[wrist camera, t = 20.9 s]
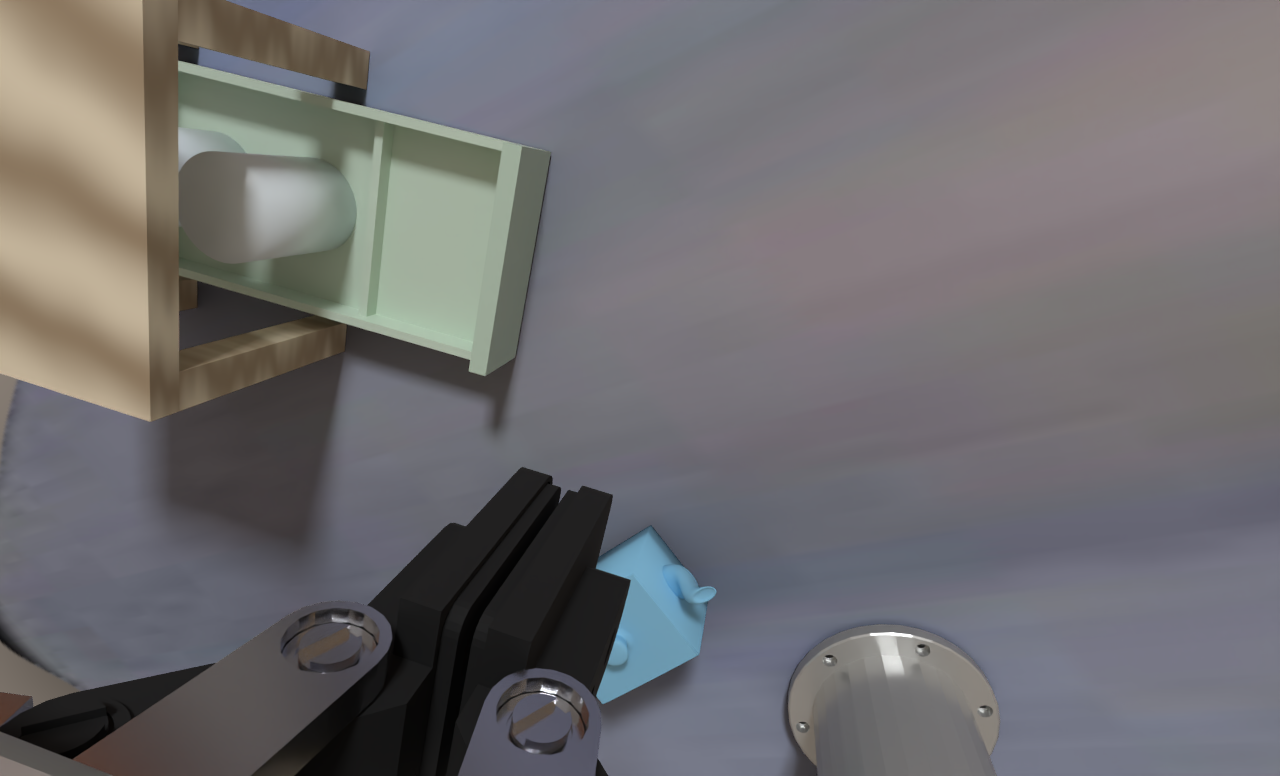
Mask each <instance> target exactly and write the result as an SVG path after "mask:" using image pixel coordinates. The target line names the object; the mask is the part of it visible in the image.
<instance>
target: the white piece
mask: <svg viewBox="0 0 1280 776" xmlns="http://www.w3.org/2000/svg"><path fill="white" fill-rule="evenodd" d="M178 180H179V221H180V223H181V225H182V228H183V229H184V231H185V233H186V235H187V236H188V237H189V239H190V240H191V241H192V243H193V244H194V245H195V246H196V247H197V248H198V249H199V250H200V251H202V252H203V253H204V254H206V255H207V256H209V257H210V258H212V259H214V260H217V261H219V262H223V263H229V264H237V263H245V262H252V261H259V260H266V259H273V258H280V257H287V256H294V255H301V254H308V253H315V252H322V251H329V250H333V249H336V248H338V247H339V246H341V245H342V244H343V243H345V242H346V241H347V239H348V238H349V237H350V235H351V233H352V231H353V229H354V226H355V222H356V214H357V212H356V202H355V198H354V194H353V191H352V189H351V187H350V185H349V183H348V181H347V180H346V178H345V177H344V176H343V175H342V173H341V172H340V171H339V170H338V169H337V168H335V167H334V166H333V165H331V164H330V163H328V162H326V161H324V160H321V159H318V158H312V157H298V156H282V155H267V154H251V153H236V152H220V151H206V152H201V153H199V154H196V155H194V156H193V157H191V158H190V159H189V160H188V161H187V162H185V164H184V165H183V166H182V168H181V170H180V172H179V174H178Z"/></svg>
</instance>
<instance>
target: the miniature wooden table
mask: <svg viewBox="0 0 1280 776" xmlns="http://www.w3.org/2000/svg"><path fill="white" fill-rule="evenodd" d="M178 44H181V45H185V46H189V47H193V48H197V49H199V47H202V48H206V49H209V50H213V51H217V52H221V53H225V54H229V55H233V56H237V57H240V58H244V59H248V60H252V61H256V62H260V63H264V64H267V65H271V66H275V67H279V68H283V69H287V70H291V71H295V72H298V73H302V74H306V75H310V76H314V77H318V78H322V79H325V80H329V81H333V82H337V83H341V84H345V85H350V86H354V87H358V88H362V89H366V90H367V78H368V66H369V54H370V52H369V51H366V50H363V49H361V48H358V47H355V46H352V45H349V44H347V43H344V42H341V41H338V40H335V39H332V38H330V37H327V36H324V35H321V34H318V33H316V32H313V31H310V30H307V29H304V28H302V27H299V26H296V25H293V24H290V23H287V22H285V21H282V20H279V19H276V18H273V17H271V16H268V15H265V14H262V13H259V12H257V11H254V10H251V9H248V8H245V7H242V6H240V5H237V4H234V3H231V2H228V1H226V0H0V373H1V374H4V375H7V376H10V377H13V378H16V379H19V380H22V381H25V382H28V383H32V384H35V385H38V386H41V387H44V388H47V389H50V390H53V391H56V392H60V393H63V394H66V395H69V396H72V397H75V398H78V399H81V400H84V401H87V402H91V403H94V404H97V405H100V406H103V407H106V408H109V409H112V410H115V411H119V412H122V413H125V414H128V415H131V416H134V417H137V418H140V419H143V420H146V421H150V422H151V421H154V420H157V419H160V418H162V417H165V416H168V415H171V414H173V413H176V412H179V411H182V410H184V409H187V408H190V407H193V406H195V405H198V404H201V403H204V402H206V401H209V400H212V399H215V398H217V397H220V396H223V395H226V394H229V393H231V392H234V391H237V390H240V389H242V388H245V387H248V386H251V385H253V384H256V383H259V382H262V381H264V380H267V379H270V378H273V377H275V376H278V375H281V374H284V373H286V372H289V371H292V370H295V369H297V368H300V367H303V366H306V365H308V364H311V363H314V362H317V361H319V360H322V359H325V358H328V357H330V356H333V355H336V354H339V353H341V352H344V351H345V341H346V329H347V324H345V323H341V322H338V321H335V320H331V319H328V318H324V317H321V316H317V315H313V316H310V317H306V318H302V319H298V320H294V321H291V322H287V323H283V324H279V325H275V326H271V327H268V328H264V329H260V330H256V331H252V332H248V333H245V334H241V335H237V336H233V337H229V338H225V339H222V340H218V341H214V342H210V343H206V344H202V345H199V346H195V347H191V348H187V349H183V350H179V311H183V310H188V309H193V308H197V280H193V279H190V278H186V277H183V276H179V180H178Z"/></svg>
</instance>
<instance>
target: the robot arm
mask: <svg viewBox="0 0 1280 776" xmlns="http://www.w3.org/2000/svg"><path fill="white" fill-rule="evenodd" d="M552 481H553V478H552V476H550V475H546V474H543V473H540V472H537V471H533V470H530V469H527V468H524V467H521V468H520V469H519V470H518V471H517V472H516V473H515V474H514V475H513V476H512V478H511V479H510V480H509V481H508V482H507V483H506V484H505V485H504V486H503V487H502V488H501V489H500V490H499V492H498V493H497V494H496V495H495V496H494V497H493V498H492V499H491V500H490V501H489V502H488V503H487V504H486V506H485V507H484V508H483V509H482V510H481V511H480V512H479V513H478V514H477V515H476V516H475V517H474V518H473V520H472V521H471V522H470V523H469V524H468V525H467V526H462V525H459V524H456V523H450V524H448V525H447V526H446V527H444V528H443V529H442V530H441V532H440V533H439V534H438V535H437V536H436V537H435V538H434V539H433V540H432V541H431V542H430V543H429V544H428V545H427V546H426V547H425V548H424V549H423V550H422V551H421V552H420V553H419V554H418V555H417V556H416V557H415V558H414V559H413V560H412V561H411V562H410V563H409V564H408V565H407V566H406V567H405V568H404V569H403V570H402V571H401V572H400V573H399V574H398V575H397V576H396V577H395V578H394V579H393V580H392V581H391V582H390V583H389V584H388V585H387V586H386V587H385V588H384V589H383V590H382V591H381V592H380V593H379V594H378V595H377V596H376V597H375V598H374V599H373V600H372V601H371V602H370V603H369V604H368V605H364V604H361V603H358V602H350V601H340V600H339V601H328V602H320V603H316V604H313V605H309V606H306V607H303V608H301V609H299V610H297V611H295V612H293V613H291V614H289V615H287V616H286V617H284V618H283V619H281V620H280V621H278V622H277V623H275V624H274V625H272V626H271V627H269V628H268V629H266V630H265V631H263V632H262V633H260V634H259V635H257V636H256V637H254V638H253V639H251V640H250V641H248V642H247V643H245V644H244V645H242V646H241V647H239V648H238V649H236V650H235V651H233V652H232V653H230V654H229V655H227V656H226V657H224V658H223V659H221V660H220V661H218V662H217V663H213V664H208V665H204V666H199V667H194V668H189V669H185V670H180V671H175V672H170V673H166V674H161V675H156V676H151V677H147V678H142V679H137V680H133V681H128V682H123V683H118V684H114V685H109V686H104V687H99V688H95V689H90V690H85V691H80V692H76V693H72V694H68V695H65V696H62V697H58V698H55V699H52V700H48V701H45V702H43V703H41V704H39V705H37V706H35V707H33V699H32V696H26V695H18V694H11V693H4V692H0V776H608V775H607V773H606V771H605V770H604V768H603V766H602V765H601V763H600V761H599V760H598V758H597V757H598V749H599V742H600V734H601V711H600V709H599V706H598V704H597V702H596V699H595V698H596V695H597V692H598V689H599V686H600V684H601V681H602V678H603V675H604V672H605V669H606V667H607V664H608V661H609V658H610V654H611V651H612V648H613V645H614V642H615V638H616V635H617V632H618V628H619V625H620V621H621V617H622V614H623V610H624V606H625V603H626V599H627V595H628V591H629V587H630V582H631V580H630V579H627V578H624V577H620V576H617V575H614V574H611V573H608V572H605V571H602V570H599V569H596V565H597V561H598V557H599V553H600V549H601V545H602V541H603V537H604V533H605V529H606V524H607V520H608V516H609V512H610V508H611V504H612V498H613V495H611V494H608V493H605V492H602V491H598V490H595V489H592V488H589V487H585V486H582V487H581V488H580V490H579V491H578V493H577V492H574V491H571V490H568V491H567V493H566V494H565V496H564V497H563V498H562V500H561V501H560V503H559V499H560V494H561V488H560V487H558V486H555V485H552ZM788 713H789V723H790V726H791V729H792V732H793V735H794V738H795V740H796V741H797V743H798V745H799V746H800V748H801V750H802V751H803V753H804V754H805V755H806V756H807V757H808V758H809V760H810V761H811V762H812V763H813V764H814V765H815V766H816V767H817V775H818V776H997V775H996V772H995V769H994V767H993V764H992V762H991V759H990V755H991V754H992V752H993V750H994V747H995V744H996V742H997V739H998V735H999V727H1000V716H999V708H998V703H997V701H996V698H995V696H994V693H993V691H992V688H991V686H990V684H989V682H988V680H987V678H986V676H985V675H984V673H983V671H982V670H981V669H980V668H979V666H978V665H977V664H976V663H975V662H974V660H973V659H972V658H971V657H970V656H968V655H967V654H966V653H965V652H964V651H962V650H961V649H960V648H959V647H957V646H956V645H954V644H953V643H951V642H949V641H947V640H945V639H944V638H942V637H940V636H938V635H935V634H932V633H929V632H927V631H924V630H921V629H917V628H912V627H907V626H902V625H885V624H877V625H868V626H860V627H856V628H852V629H849V630H846V631H842V632H839V633H837V634H835V635H833V636H831V637H829V638H827V639H825V640H823V641H822V642H821V643H819V644H818V645H817V646H816V647H814V648H813V649H812V650H810V651H809V652H808V654H807V655H806V656H805V657H804V658H803V659H802V661H801V662H800V663H799V665H798V667H797V668H796V670H795V672H794V674H793V676H792V679H791V683H790V687H789V691H788Z"/></svg>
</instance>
